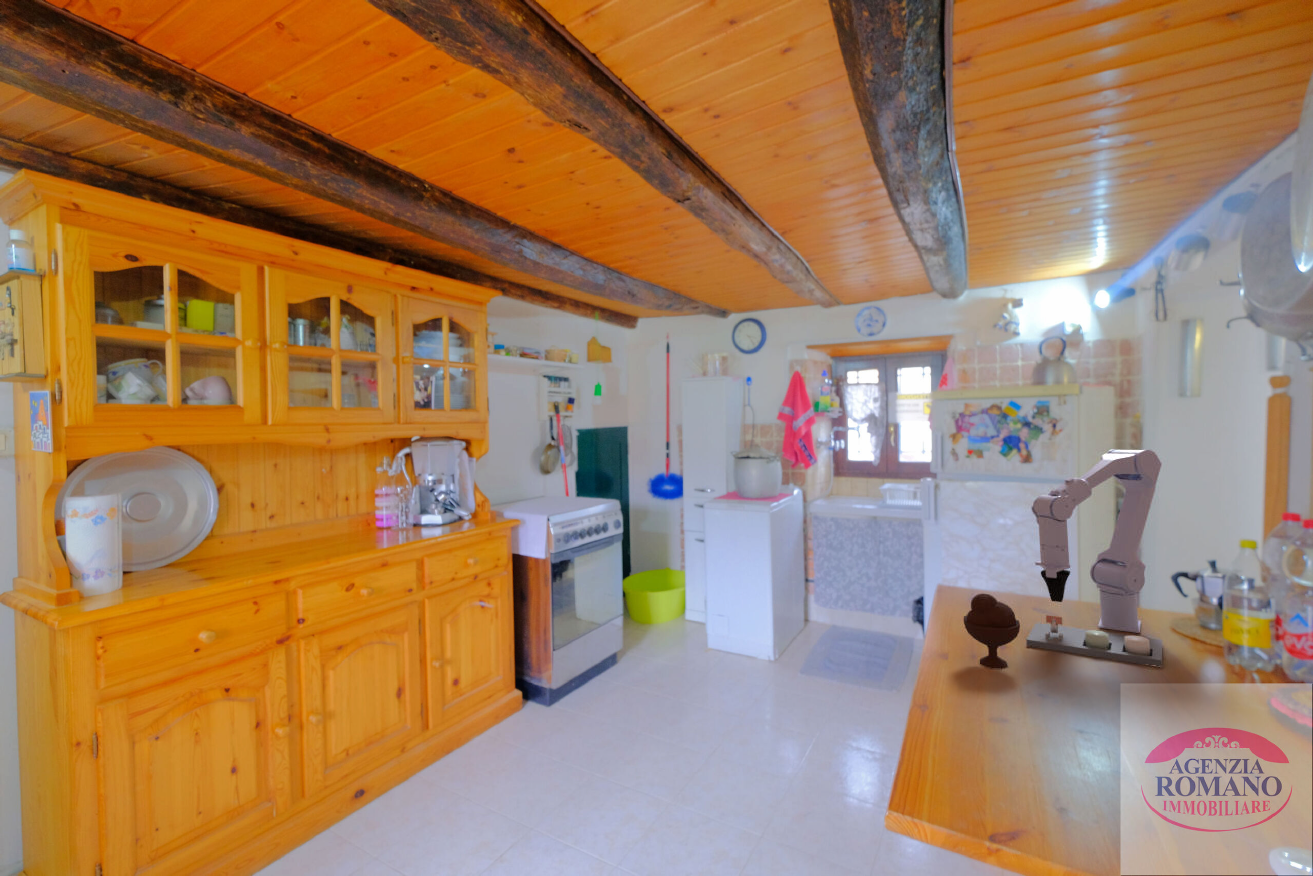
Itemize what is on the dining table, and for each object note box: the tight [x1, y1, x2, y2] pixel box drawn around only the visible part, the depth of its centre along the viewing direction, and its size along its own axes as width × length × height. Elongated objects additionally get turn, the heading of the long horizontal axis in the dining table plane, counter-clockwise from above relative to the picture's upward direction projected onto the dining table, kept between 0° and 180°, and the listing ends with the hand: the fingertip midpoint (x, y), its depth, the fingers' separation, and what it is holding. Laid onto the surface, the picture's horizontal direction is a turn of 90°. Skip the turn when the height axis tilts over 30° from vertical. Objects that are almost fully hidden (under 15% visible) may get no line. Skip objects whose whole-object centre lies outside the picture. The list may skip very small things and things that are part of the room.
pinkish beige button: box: [1124, 635, 1151, 656], centre depth 128 cm, size 4×4×3 cm
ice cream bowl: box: [963, 592, 1021, 670], centre depth 129 cm, size 11×11×15 cm
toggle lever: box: [1045, 614, 1063, 633], centre depth 138 cm, size 1×3×4 cm, turn 48°
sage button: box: [1085, 629, 1109, 650], centre depth 132 cm, size 4×4×3 cm
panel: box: [1025, 622, 1163, 667], centre depth 135 cm, size 14×24×2 cm, turn 50°
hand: (1057, 601), depth 143 cm, fingers closed
